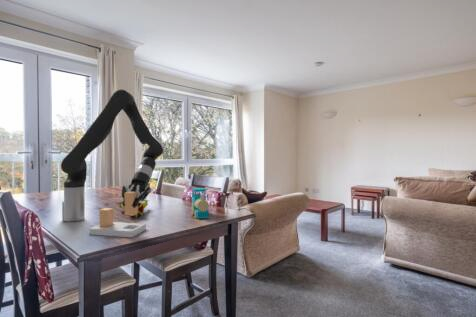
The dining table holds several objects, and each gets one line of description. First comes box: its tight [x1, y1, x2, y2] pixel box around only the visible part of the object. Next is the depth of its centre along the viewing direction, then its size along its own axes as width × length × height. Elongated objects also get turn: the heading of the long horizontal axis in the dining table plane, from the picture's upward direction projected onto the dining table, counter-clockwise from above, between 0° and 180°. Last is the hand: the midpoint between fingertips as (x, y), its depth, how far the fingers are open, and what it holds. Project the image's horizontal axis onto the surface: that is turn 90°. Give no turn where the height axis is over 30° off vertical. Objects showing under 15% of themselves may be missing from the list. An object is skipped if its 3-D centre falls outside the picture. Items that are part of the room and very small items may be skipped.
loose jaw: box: [124, 191, 138, 217], centre depth 122 cm, size 4×4×10 cm
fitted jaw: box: [99, 207, 114, 227], centre depth 124 cm, size 4×4×10 cm
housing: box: [89, 221, 147, 238], centre depth 123 cm, size 20×12×2 cm, turn 81°
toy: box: [119, 197, 150, 219], centre depth 160 cm, size 16×9×30 cm
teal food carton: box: [190, 187, 211, 219], centre depth 155 cm, size 8×17×15 cm, turn 20°
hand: (128, 206), depth 120 cm, fingers closed on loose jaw, 4 cm apart
